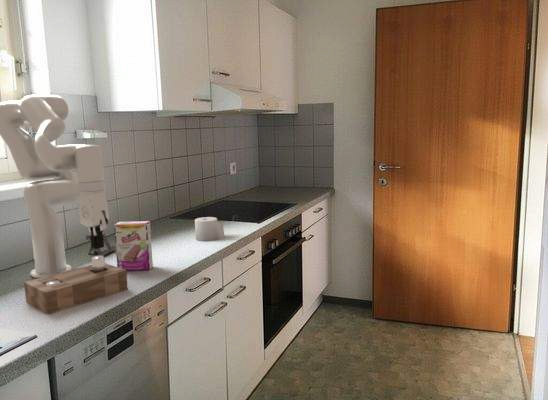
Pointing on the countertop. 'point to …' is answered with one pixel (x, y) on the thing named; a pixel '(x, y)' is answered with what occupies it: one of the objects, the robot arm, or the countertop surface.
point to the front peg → (52, 282)
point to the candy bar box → (133, 245)
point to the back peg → (98, 264)
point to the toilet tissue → (208, 229)
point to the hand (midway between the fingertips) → (97, 247)
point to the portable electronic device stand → (105, 252)
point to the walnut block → (74, 287)
